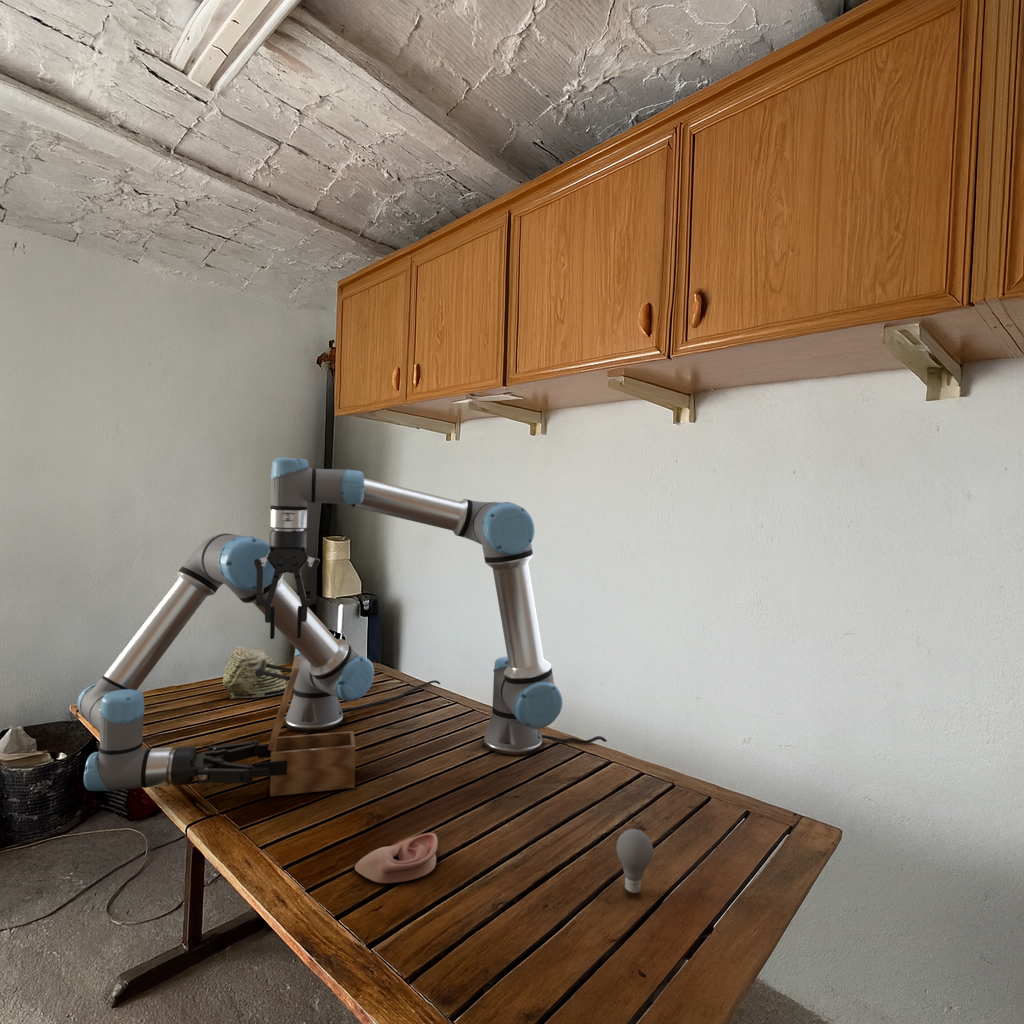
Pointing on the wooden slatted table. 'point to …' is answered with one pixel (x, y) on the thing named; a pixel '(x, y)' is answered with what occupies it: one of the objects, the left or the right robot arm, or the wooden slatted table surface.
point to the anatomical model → (400, 860)
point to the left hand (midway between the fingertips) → (288, 758)
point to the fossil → (250, 675)
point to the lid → (286, 697)
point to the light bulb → (634, 857)
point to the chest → (314, 763)
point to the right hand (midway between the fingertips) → (285, 636)
